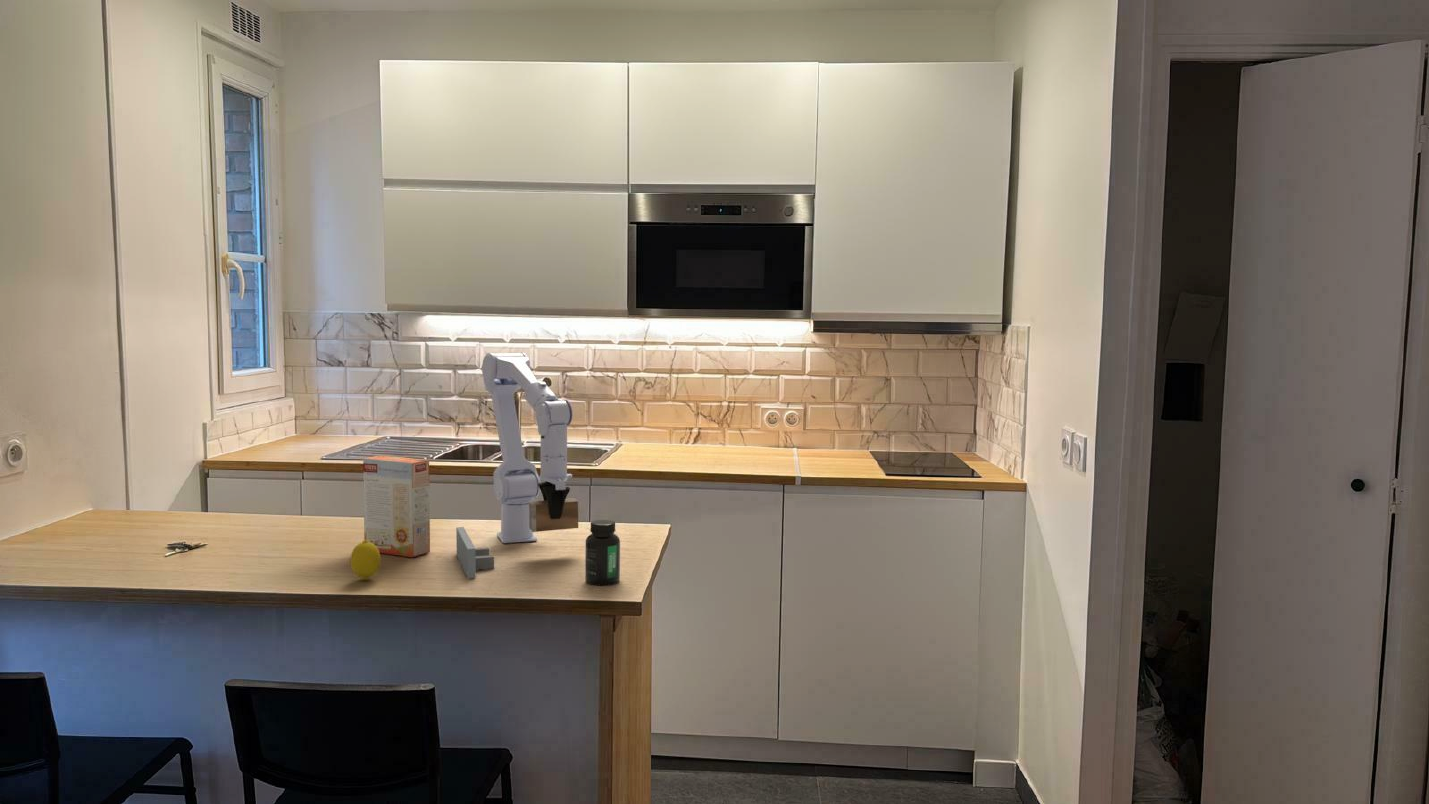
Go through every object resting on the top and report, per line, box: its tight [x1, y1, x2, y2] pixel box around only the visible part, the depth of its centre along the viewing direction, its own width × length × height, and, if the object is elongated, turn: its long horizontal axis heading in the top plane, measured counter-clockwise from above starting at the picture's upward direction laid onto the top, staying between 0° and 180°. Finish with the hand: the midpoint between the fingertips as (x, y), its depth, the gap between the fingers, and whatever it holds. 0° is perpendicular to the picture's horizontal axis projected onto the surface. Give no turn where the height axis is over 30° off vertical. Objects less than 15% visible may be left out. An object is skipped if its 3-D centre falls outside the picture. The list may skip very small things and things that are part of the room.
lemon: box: [350, 539, 381, 581], centre depth 185 cm, size 6×6×8 cm
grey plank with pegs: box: [455, 526, 495, 579], centre depth 198 cm, size 20×6×6 cm, turn 22°
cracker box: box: [362, 455, 431, 558], centre depth 206 cm, size 14×6×21 cm, turn 65°
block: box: [529, 497, 579, 533], centre depth 206 cm, size 4×10×6 cm, turn 112°
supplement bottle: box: [584, 519, 621, 587], centre depth 187 cm, size 7×7×12 cm
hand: (553, 516), depth 206 cm, fingers closed on block, 3 cm apart
